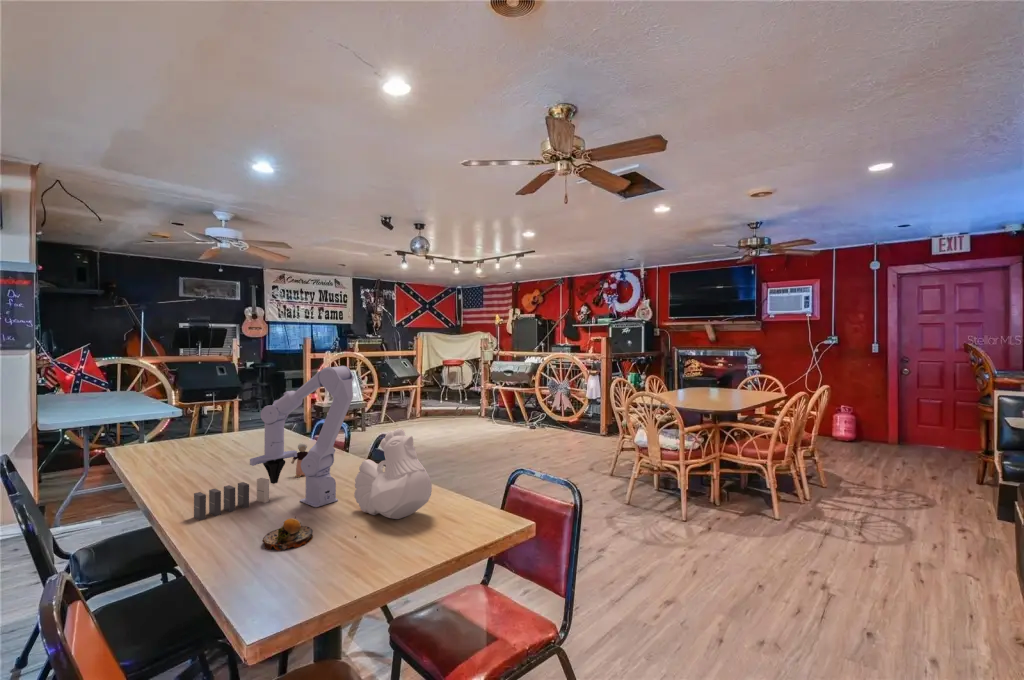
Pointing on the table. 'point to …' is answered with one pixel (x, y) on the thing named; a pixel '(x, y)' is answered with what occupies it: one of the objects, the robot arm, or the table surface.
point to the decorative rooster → (393, 480)
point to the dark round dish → (288, 536)
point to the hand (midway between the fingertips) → (274, 482)
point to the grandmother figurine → (300, 459)
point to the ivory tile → (263, 490)
